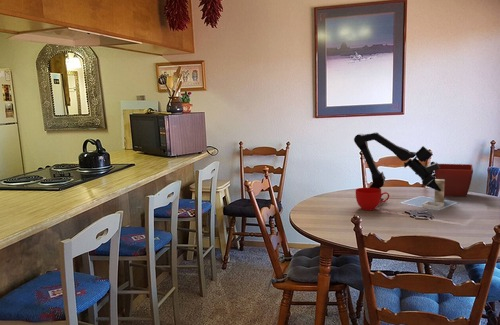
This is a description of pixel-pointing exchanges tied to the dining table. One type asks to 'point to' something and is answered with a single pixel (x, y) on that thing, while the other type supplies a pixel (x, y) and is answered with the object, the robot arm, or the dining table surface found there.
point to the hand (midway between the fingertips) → (440, 188)
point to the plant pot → (455, 178)
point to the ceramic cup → (369, 198)
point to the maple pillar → (439, 194)
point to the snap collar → (433, 205)
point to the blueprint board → (421, 199)
